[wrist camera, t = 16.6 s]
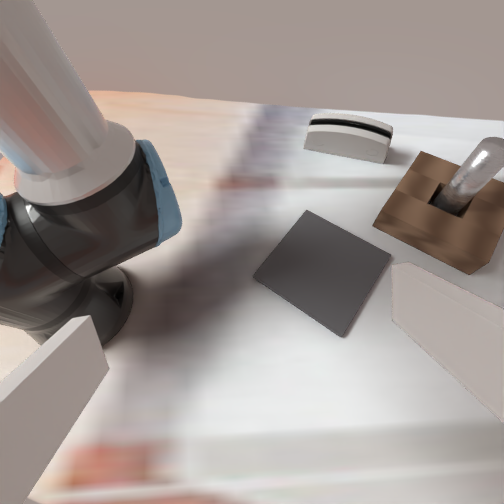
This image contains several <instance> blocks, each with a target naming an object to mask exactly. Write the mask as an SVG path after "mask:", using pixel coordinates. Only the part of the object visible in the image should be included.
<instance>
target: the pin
mask: <svg viewBox="0 0 504 504" xmlns="http://www.w3.org/2000/svg"><path fill="white" fill-rule="evenodd" d="M503 166H504V139H502V138H498V137H488V138H485V139H483V140H482V141H481V142H480V143H479V145H478V146H477V147H476V148H475V150H474V151H473V152H472V153H471V155H470V156H469V157H468V158H467V160H466V161H465V162H464V163H463V165H462V166H461V167H460V168H459V170H458V171H457V172H456V173H455V175H454V176H453V177H452V178H451V180H450V181H449V182H448V183H447V185H446V186H445V187H444V188H443V190H442V191H441V192H440V193H439V194H438V196H437V197H436V198H435V199H434V201H433V202H432V203H431V204H430V205H432V206H434V207H436V208H439V209H441V210H443V211H445V212H448V213H450V214H452V215H454V216H455V215H456V214H457V213H458V212H459V211H460V210H461V209H462V208H463V207H464V206H465V205H466V204H467V203H468V202H469V201H470V200H471V199H472V198H473V197H474V196H475V195H476V194H477V193H478V192H479V191H480V190H481V189H482V188H483V187H484V186H485V185H486V184H487V183H488V182H489V181H490V180H491V179H492V178H493V177H494V176H495V175H496V174H497V173H498V172H499V171H500V170H501V168H502V167H503Z"/></svg>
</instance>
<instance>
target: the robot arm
mask: <svg viewBox="0 0 504 504" xmlns="http://www.w3.org/2000/svg"><path fill="white" fill-rule="evenodd" d="M0 153H1V154H3V155H4V156H5V157H6V158H7V159H8V160H9V161H10V162H11V163H12V164H13V165H14V166H15V173H14V186H15V189H16V191H17V192H15V193H13V194H11V195H8V196H3V195H2V194H1V193H0V324H2V325H6V326H10V327H14V328H18V329H22V330H24V331H25V332H26V333H27V334H29V335H30V336H31V337H32V338H33V339H34V340H35V341H36V342H38V343H39V344H40V345H41V346H40V347H39V348H38V349H37V350H36V351H35V352H34V353H32V354H31V355H30V356H29V357H28V358H27V359H26V360H25V361H23V362H22V363H21V364H20V365H19V366H18V367H17V368H15V369H14V370H13V371H12V372H11V373H10V374H9V375H8V376H6V377H5V378H4V379H3V380H2V381H1V382H0V504H23V503H24V501H25V499H26V498H27V497H28V495H29V493H30V492H31V490H32V489H33V487H34V486H35V484H36V483H37V481H38V479H39V478H40V476H41V475H42V473H43V472H44V470H45V469H46V467H47V465H48V464H49V462H50V461H51V459H52V458H53V456H54V455H55V453H56V451H57V450H58V448H59V447H60V445H61V444H62V442H63V441H64V439H65V437H66V436H67V434H68V433H69V431H70V430H71V428H72V427H73V425H74V423H75V422H76V420H77V419H78V417H79V416H80V414H81V412H82V411H83V409H84V408H85V406H86V405H87V403H88V402H89V400H90V398H91V397H92V395H93V394H94V392H95V391H96V389H97V388H98V386H99V384H100V383H101V381H102V380H103V378H104V377H105V375H106V374H107V372H108V370H109V366H108V363H107V360H106V358H105V355H104V352H103V349H102V345H104V344H105V343H107V342H108V341H109V340H110V339H112V338H113V337H114V336H115V335H116V334H117V332H118V331H119V330H120V329H121V327H122V326H123V325H124V323H125V321H126V319H127V317H128V315H129V313H130V310H131V306H132V301H133V291H132V286H131V283H130V281H129V279H128V277H127V276H126V275H125V274H124V273H123V272H122V271H121V270H120V269H119V268H117V267H116V265H118V264H120V263H122V262H124V261H126V260H128V259H131V258H133V257H135V256H137V255H139V254H141V253H143V252H145V251H148V250H150V249H152V248H154V247H157V246H159V245H160V244H161V243H162V242H164V241H165V240H167V239H169V238H171V237H172V236H174V235H176V234H177V233H178V232H179V231H180V229H181V227H182V217H181V212H180V209H179V205H178V202H177V199H176V196H175V194H174V191H173V189H172V186H171V184H170V183H169V179H168V177H167V174H166V171H165V168H164V166H163V164H162V162H161V160H160V157H159V155H158V153H157V151H156V150H155V148H154V146H153V145H152V143H151V142H150V141H148V140H136V141H135V139H134V137H133V135H132V134H131V132H130V131H129V130H128V129H127V128H126V127H124V126H123V125H120V124H118V123H115V122H111V121H108V120H105V118H104V117H103V115H102V113H101V112H100V110H99V109H98V107H97V105H96V104H95V102H94V100H93V99H92V97H91V95H90V94H89V92H88V90H87V89H86V87H85V85H84V84H83V82H82V81H81V79H80V77H79V76H78V74H77V72H76V71H75V69H74V67H73V66H72V64H71V62H70V61H69V59H68V57H67V56H66V54H65V53H64V51H63V49H62V48H61V46H60V44H59V43H58V41H57V39H56V38H55V36H54V35H53V33H52V31H51V29H50V28H49V26H48V25H47V23H46V21H45V20H44V18H43V16H42V15H41V13H40V11H39V10H38V8H37V7H36V5H35V3H34V1H33V0H0ZM392 321H393V322H394V323H395V324H396V325H398V326H399V327H400V328H401V329H402V330H403V331H404V332H405V333H406V334H407V335H408V336H409V337H411V338H412V339H413V340H414V341H415V342H416V343H417V344H418V345H419V346H420V347H421V348H423V349H424V350H425V351H426V352H427V353H428V354H429V355H430V356H431V357H432V358H433V359H434V360H436V361H437V362H438V363H439V364H440V365H441V366H442V367H443V368H444V369H445V370H446V371H448V372H449V373H450V374H451V375H452V376H453V377H454V378H455V379H456V380H457V381H458V382H459V383H461V384H462V385H463V386H464V387H465V388H466V389H467V390H468V391H469V392H470V393H471V394H472V395H474V396H475V397H476V398H477V399H478V400H479V401H480V402H481V403H482V404H483V405H484V406H486V407H487V408H488V409H489V410H490V411H491V412H492V413H493V414H494V415H495V416H496V417H497V418H499V419H500V420H501V421H502V422H503V423H504V309H502V308H500V307H498V306H496V305H494V304H492V303H490V302H488V301H486V300H484V299H482V298H480V297H478V296H476V295H474V294H472V293H470V292H468V291H466V290H464V289H462V288H460V287H458V286H456V285H454V284H452V283H450V282H448V281H446V280H444V279H442V278H440V277H438V276H436V275H434V274H432V273H430V272H428V271H426V270H424V269H422V268H420V267H418V266H416V265H414V264H412V263H410V262H405V263H399V264H393V265H392Z"/></svg>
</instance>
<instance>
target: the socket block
mask: <svg viewBox="0 0 504 504" xmlns="http://www.w3.org/2000/svg"><path fill="white" fill-rule="evenodd" d="M460 167H461V166H459V165H456V164H454V163H451V162H449V161H446V160H443V159H441V158H438V157H436V156H433V155H430V154H428V153H425V152H423V151H421V152H420V153H419V155H418V156H417V158H416V159H415V161H414V162H413V164H412V165H411V167H410V168H409V170H408V171H407V173H406V174H405V176H404V177H403V179H402V180H401V182H400V183H399V184H398V186H397V187H396V189H395V190H394V192H393V193H392V195H391V196H390V198H389V199H388V201H387V202H386V204H385V205H384V207H383V208H382V210H381V211H380V213H379V215H378V217H377V218H376V220H375V222H374V224H373V227H375V228H377V229H379V230H381V231H383V232H385V233H387V234H389V235H391V236H393V237H395V238H397V239H399V240H401V241H403V242H405V243H407V244H409V245H411V246H413V247H415V248H417V249H419V250H421V251H423V252H425V253H427V254H429V255H431V256H432V257H434V258H436V259H438V260H440V261H442V262H444V263H446V264H448V265H450V266H452V267H454V268H456V269H458V270H460V271H462V272H464V273H466V274H468V275H470V274H471V273H473V272H475V271H476V270H478V269H479V268H481V267H483V266H484V265H486V264H487V263H489V261H490V259H491V256H492V254H493V252H494V250H495V247H496V245H497V243H498V240H499V238H500V236H501V234H502V231H503V229H504V183H503V182H501V181H498V180H495V179H493V178H492V179H491V180H490V181H489V182H488V183H487V184H486V185H485V186H484V187H483V188H482V189H481V190H480V191H479V192H478V193H477V194H476V195H475V196H474V197H473V198H472V199H471V200H470V201H469V202H468V203H467V204H466V205H465V206H464V207H463V208H462V209H461V210H460V211H459V212H458V214H457V216H454V215H452V214H450V213H448V212H445V211H443V210H441V209H439V208H436V207H434V206H432V205H430V204H427V203H428V201H429V200H430V201H432V202H433V201H434V199H435V198H436V197H437V196H438V194H439V193H440V192H441V191H442V190H443V188H444V187H445V186H446V185H447V183H448V182H449V181H450V180H451V178H452V177H453V176H454V175H455V173H456V172H457V171H458V170H459V168H460Z"/></svg>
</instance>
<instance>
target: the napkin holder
mask: <svg viewBox="0 0 504 504" xmlns="http://www.w3.org/2000/svg"><path fill="white" fill-rule="evenodd" d="M392 135H393V127H392V126H390V125H388V124H385V123H383V122H380V121H377V120H373V119H370V118H366V117H362V116H357V115H350V114H339V113H322V114H314V115H313V116H312V118H311V120H310V122H309V127H308V129H307V133H306V137H305V141H304V149H306V150H312V151H317V152H322V153H328V154H333V155H338V156H344V157H349V158H354V159H359V160H365V161H370V162H375V163H381V164H383V163H384V161H385V160H386V156H387V153H388V150H389V146H390V143H391V139H392Z"/></svg>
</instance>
